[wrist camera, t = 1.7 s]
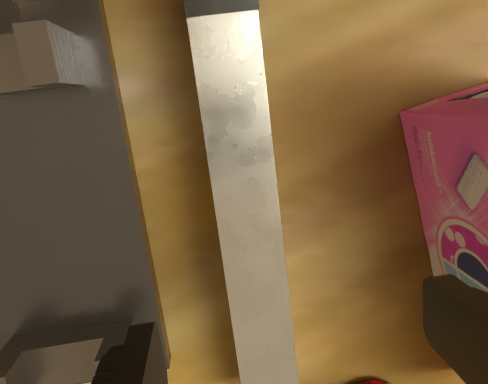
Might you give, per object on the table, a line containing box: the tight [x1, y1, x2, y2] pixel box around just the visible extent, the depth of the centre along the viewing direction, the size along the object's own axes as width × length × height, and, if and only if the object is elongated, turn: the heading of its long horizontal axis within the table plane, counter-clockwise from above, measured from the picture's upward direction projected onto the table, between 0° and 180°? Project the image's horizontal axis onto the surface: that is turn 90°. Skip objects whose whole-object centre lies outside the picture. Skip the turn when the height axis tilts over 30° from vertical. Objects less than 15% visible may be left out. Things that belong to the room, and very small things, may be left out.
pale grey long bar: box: [183, 0, 299, 384], centre depth 27 cm, size 4×30×4 cm, turn 7°
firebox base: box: [0, 0, 171, 384], centre depth 22 cm, size 12×32×11 cm, turn 7°
